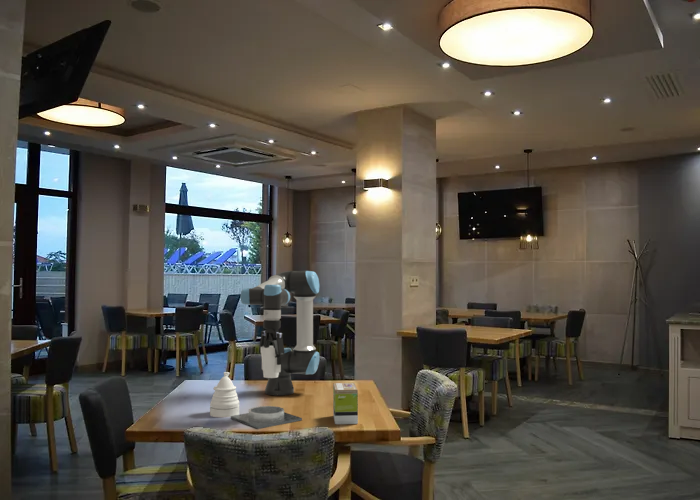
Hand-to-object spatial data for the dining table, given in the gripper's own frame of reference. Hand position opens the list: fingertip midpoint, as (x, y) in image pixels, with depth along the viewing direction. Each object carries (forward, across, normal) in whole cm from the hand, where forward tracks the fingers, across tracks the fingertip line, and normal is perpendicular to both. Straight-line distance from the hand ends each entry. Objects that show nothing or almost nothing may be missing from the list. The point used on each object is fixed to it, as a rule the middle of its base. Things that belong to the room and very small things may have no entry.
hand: (271, 370), depth 249 cm
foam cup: (+3, 0, 0) cm, 3 cm away
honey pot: (+21, -19, -12) cm, 30 cm away
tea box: (+20, +23, +23) cm, 39 cm away
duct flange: (+20, +1, -3) cm, 21 cm away
